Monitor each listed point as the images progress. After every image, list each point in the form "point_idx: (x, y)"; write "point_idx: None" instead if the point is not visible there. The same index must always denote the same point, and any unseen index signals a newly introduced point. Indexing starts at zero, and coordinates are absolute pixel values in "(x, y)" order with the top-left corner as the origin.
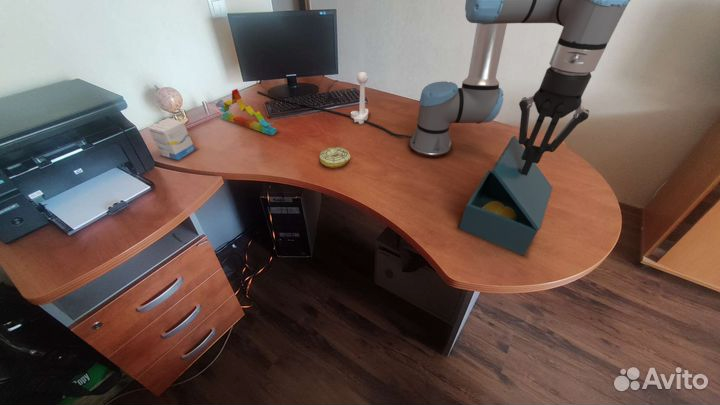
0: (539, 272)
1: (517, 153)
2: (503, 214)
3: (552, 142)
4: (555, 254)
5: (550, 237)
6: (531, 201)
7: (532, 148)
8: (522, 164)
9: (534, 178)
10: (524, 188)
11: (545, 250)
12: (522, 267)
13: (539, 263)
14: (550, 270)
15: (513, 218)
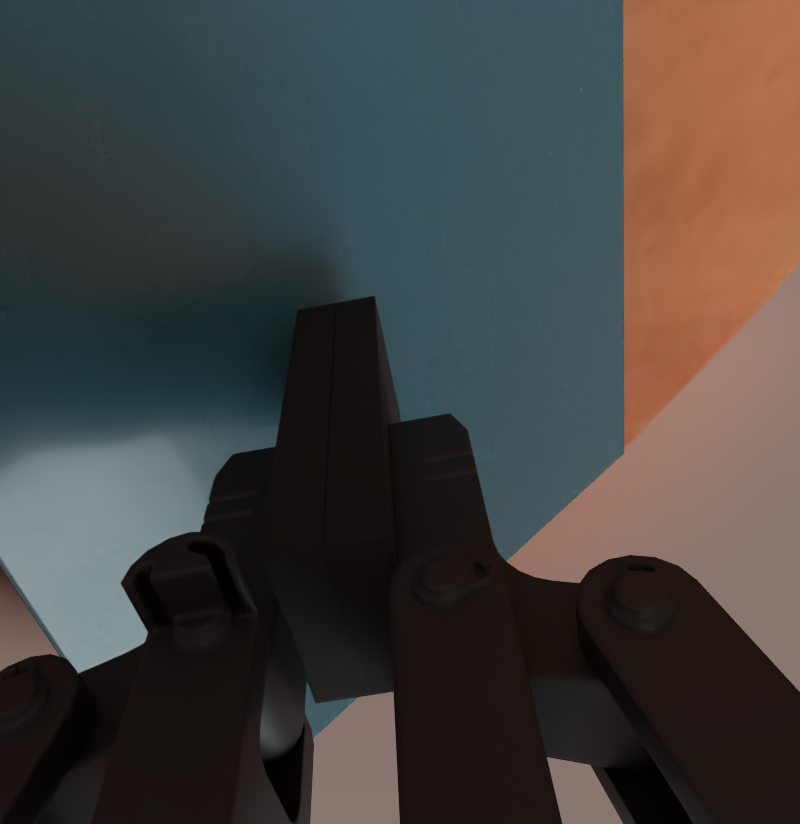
0: (644, 373)
1: (71, 211)
2: None
3: (622, 700)
4: (701, 200)
5: (658, 67)
6: (524, 411)
7: (315, 650)
8: (252, 237)
9: (441, 113)
10: None
11: (647, 210)
12: None
13: (634, 323)
14: (689, 327)
15: None
